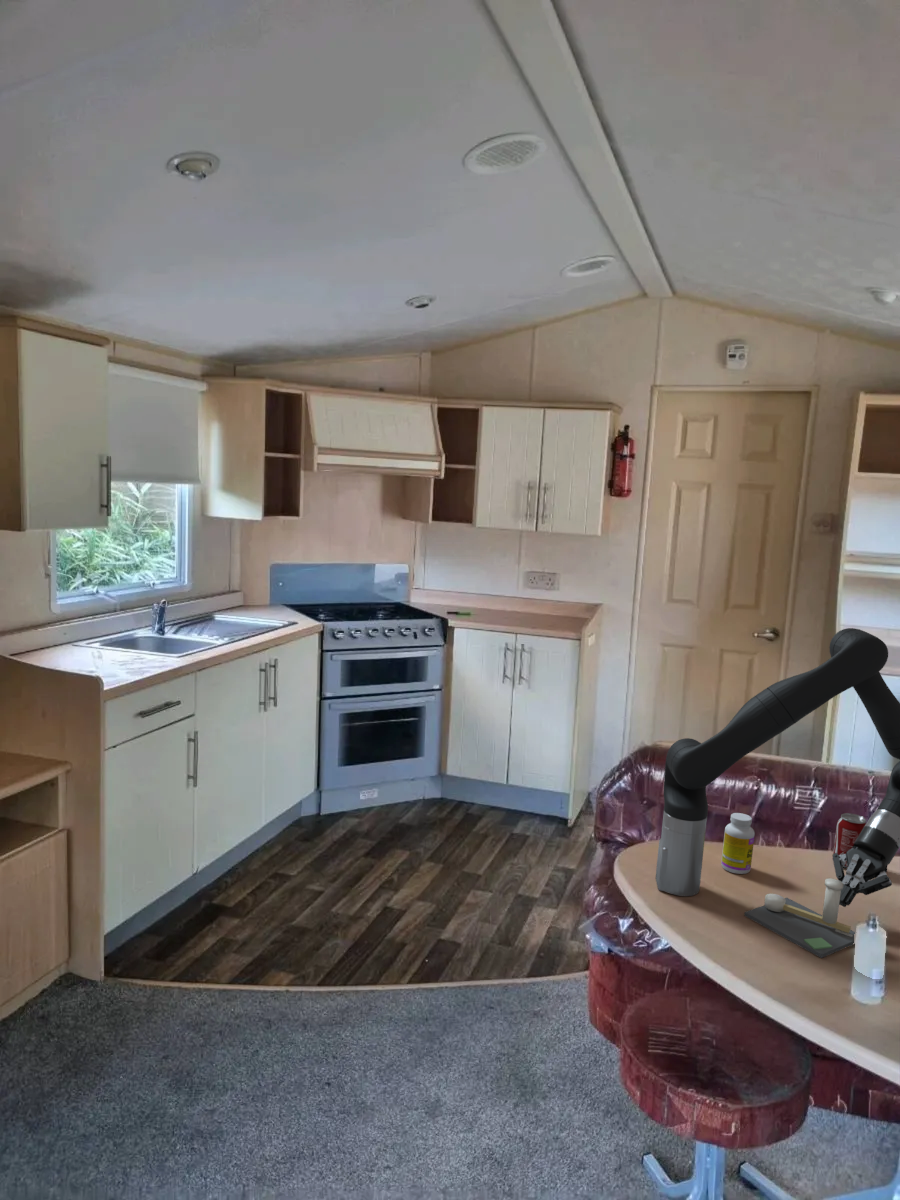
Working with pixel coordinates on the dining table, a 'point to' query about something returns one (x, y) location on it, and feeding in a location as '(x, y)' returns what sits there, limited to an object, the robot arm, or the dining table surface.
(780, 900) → the domed post with rod
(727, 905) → the dining table surface
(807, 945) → the dark grey base plate
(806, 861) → the dining table surface
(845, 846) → the soda can
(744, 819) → the supplement bottle
